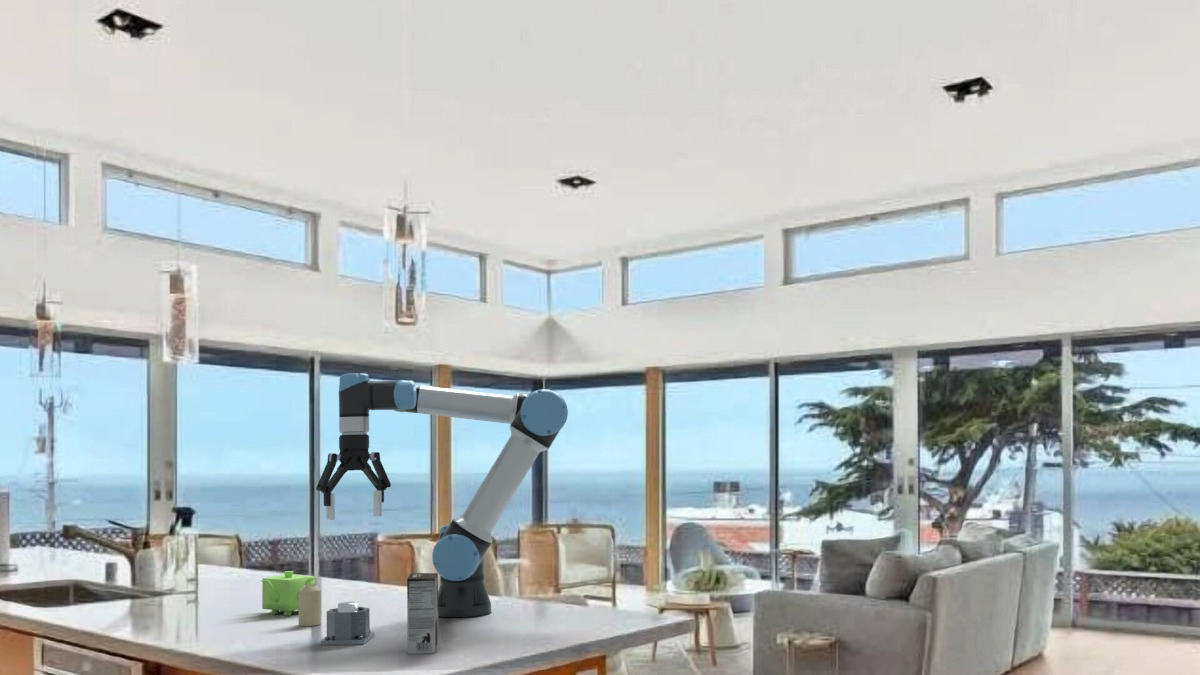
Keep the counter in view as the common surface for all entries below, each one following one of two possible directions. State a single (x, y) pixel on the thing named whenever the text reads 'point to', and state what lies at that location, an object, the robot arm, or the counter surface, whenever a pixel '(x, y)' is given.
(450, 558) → the robot arm
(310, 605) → the candle
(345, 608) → the bolted post base
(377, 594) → the counter surface
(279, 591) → the kettle
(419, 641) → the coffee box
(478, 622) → the counter surface
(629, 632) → the counter surface
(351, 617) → the collar
